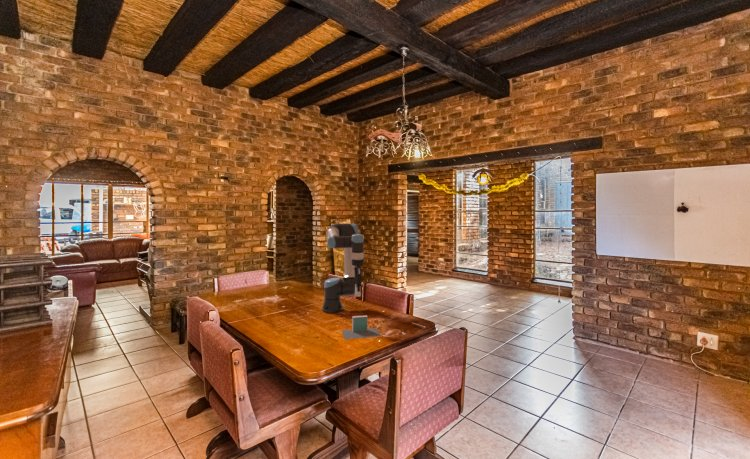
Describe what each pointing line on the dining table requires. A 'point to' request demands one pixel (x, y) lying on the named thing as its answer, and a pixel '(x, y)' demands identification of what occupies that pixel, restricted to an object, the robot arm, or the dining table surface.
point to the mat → (361, 333)
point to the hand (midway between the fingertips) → (357, 295)
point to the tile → (359, 323)
